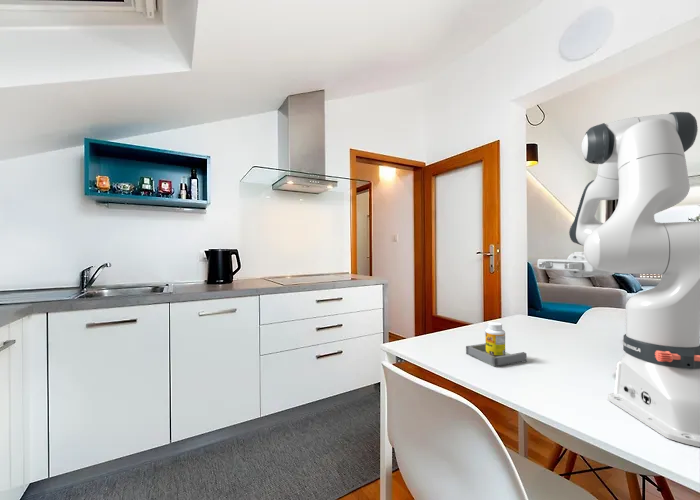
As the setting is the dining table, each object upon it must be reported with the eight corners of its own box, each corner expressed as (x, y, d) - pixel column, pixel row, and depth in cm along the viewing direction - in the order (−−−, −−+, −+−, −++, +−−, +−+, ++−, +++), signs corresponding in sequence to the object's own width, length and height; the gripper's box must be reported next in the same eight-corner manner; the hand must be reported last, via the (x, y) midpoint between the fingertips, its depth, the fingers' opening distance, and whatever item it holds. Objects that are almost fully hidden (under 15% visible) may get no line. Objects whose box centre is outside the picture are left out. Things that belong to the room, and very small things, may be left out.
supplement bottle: (482, 353, 99) (482, 321, 99) (499, 353, 99) (499, 321, 99) (490, 359, 93) (490, 325, 93) (508, 359, 93) (508, 325, 93)
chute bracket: (495, 349, 104) (495, 341, 104) (526, 361, 92) (526, 353, 92) (466, 353, 100) (466, 346, 100) (494, 367, 88) (494, 358, 88)
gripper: (553, 254, 116) (525, 255, 112) (614, 255, 97) (584, 256, 93) (553, 271, 116) (525, 272, 112) (614, 275, 97) (584, 277, 93)
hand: (552, 265), depth 102 cm, fingers open, 8 cm apart
